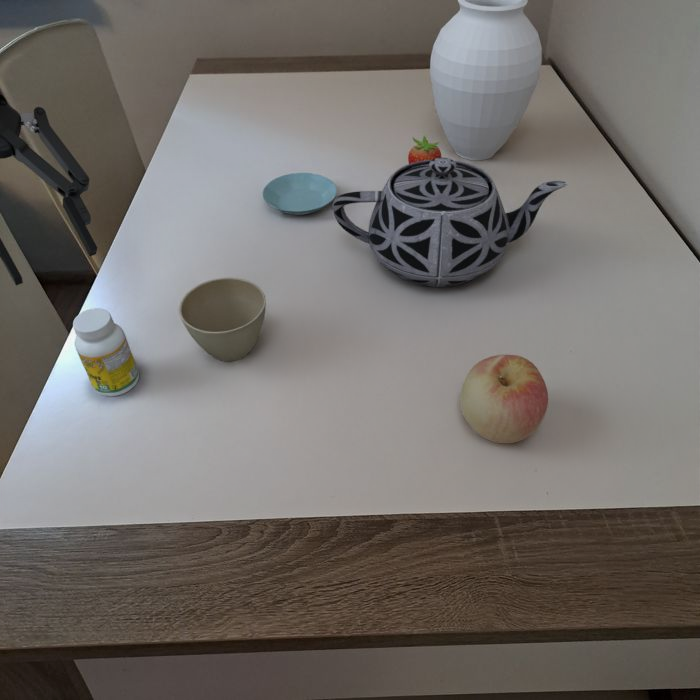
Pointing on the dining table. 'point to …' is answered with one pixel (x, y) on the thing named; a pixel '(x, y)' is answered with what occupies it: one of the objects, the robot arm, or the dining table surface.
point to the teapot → (440, 221)
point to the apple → (504, 398)
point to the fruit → (423, 151)
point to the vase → (484, 74)
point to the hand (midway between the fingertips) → (57, 266)
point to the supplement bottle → (105, 353)
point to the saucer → (299, 193)
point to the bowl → (224, 316)
